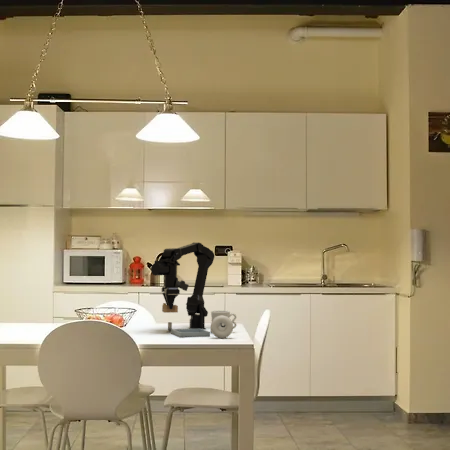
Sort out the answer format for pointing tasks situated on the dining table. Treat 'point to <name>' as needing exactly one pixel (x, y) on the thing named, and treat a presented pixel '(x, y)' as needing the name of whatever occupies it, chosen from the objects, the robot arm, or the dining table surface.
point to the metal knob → (169, 326)
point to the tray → (190, 332)
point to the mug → (224, 313)
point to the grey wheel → (216, 330)
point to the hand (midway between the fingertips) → (169, 308)
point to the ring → (169, 308)
